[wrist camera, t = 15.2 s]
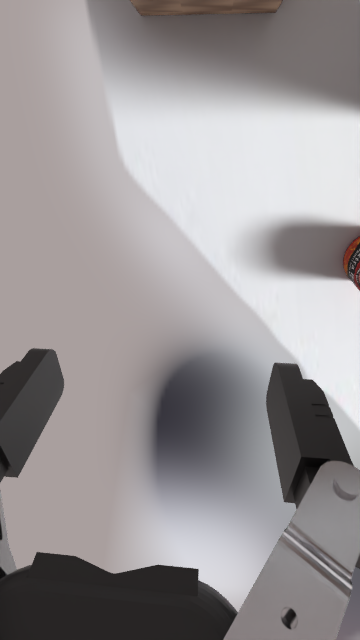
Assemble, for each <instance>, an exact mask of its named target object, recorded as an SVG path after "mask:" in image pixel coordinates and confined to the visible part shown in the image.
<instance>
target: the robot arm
mask: <svg viewBox="0 0 360 640" xmlns="http://www.w3.org/2000/svg"><path fill="white" fill-rule="evenodd" d="M63 388H64V379H63V376H62V372H61V368H60V365H59V362H58V358H57V355H56V352H55V351H54V350H52V349H34V348H33V349H31V350H29V351H28V353H27V354H26V355H25V357H24V358H23V359H22V361H21V362H18V361H16V362H15V363H13V364H12V365H11V366H9V367H8V368H7V369H5V370H4V371H3V372H2V373H1V374H0V482H1V480H2V479H3V477H4V476H6V477H18V476H19V474H20V472H21V470H22V468H23V467H24V465H25V463H26V461H27V459H28V457H29V455H30V453H31V452H32V450H33V448H34V446H35V444H36V442H37V440H38V438H39V437H40V435H41V433H42V431H43V429H44V427H45V425H46V423H47V422H48V420H49V418H50V416H51V414H52V412H53V410H54V408H55V407H56V405H57V403H58V401H59V399H60V397H61V395H62V392H63ZM266 399H267V400H266V402H267V403H266V405H267V413H268V418H269V424H270V429H271V434H272V440H273V445H274V450H275V456H276V461H277V467H278V472H279V477H280V483H281V488H282V493H283V499H284V502H288V503H295V504H296V509H297V510H296V512H295V514H294V516H293V518H292V519H291V521H290V523H289V525H288V527H287V528H286V529H285V530H284V532H283V533H282V535H281V537H280V538H279V540H278V542H277V544H276V545H275V547H274V549H273V551H272V553H271V555H270V556H269V558H268V560H267V562H266V563H265V565H264V567H263V569H262V571H261V572H260V574H259V576H258V578H257V580H256V582H255V583H254V585H253V587H252V589H251V591H250V592H249V594H248V596H247V598H246V600H245V601H244V604H243V605H242V607H241V609H240V610H239V612H237V611H236V610H235V608H234V607H233V606H232V605H231V604H230V603H229V602H228V601H227V599H225V598H224V597H223V596H222V595H221V594H220V593H219V592H217V591H216V590H215V589H213V588H212V587H210V586H209V585H207V584H205V583H203V582H201V581H199V580H198V569H193V568H183V567H173V566H164V565H155V566H150V567H145V568H141V569H136V570H132V571H127V572H122V573H117V574H113V573H109V572H107V571H105V570H103V569H101V568H99V567H97V566H95V565H93V564H91V563H89V562H86V561H84V560H82V559H80V558H78V557H76V556H68V555H59V554H50V553H40V552H37V553H36V556H35V558H34V561H33V564H32V565H29V566H26V567H24V568H21V569H18V570H17V569H16V565H15V562H14V559H13V556H12V554H11V551H10V548H9V544H8V538H7V531H6V524H5V518H4V512H3V504H2V497H1V491H0V640H336V637H337V634H338V631H339V628H340V625H341V622H342V619H343V616H344V614H345V611H346V607H347V605H348V601H349V599H350V595H351V591H352V582H351V578H352V574H353V570H354V568H355V567H357V568H359V569H360V470H359V469H357V468H356V467H354V465H353V463H352V461H351V459H350V456H349V454H348V451H347V449H346V447H345V444H344V441H343V439H342V437H341V434H340V432H339V429H338V427H337V424H336V422H335V419H334V418H333V414H332V412H331V409H330V407H329V404H328V402H327V399H326V397H325V394H324V392H323V391H322V389H321V388H320V387H319V386H318V385H317V384H316V383H315V382H314V381H313V380H307V379H303V378H302V375H301V372H300V369H299V367H298V365H297V364H289V363H274V365H273V369H272V373H271V377H270V382H269V386H268V391H267V397H266Z"/></svg>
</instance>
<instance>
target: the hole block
mask: <svg viewBox="0 0 360 640" xmlns="http://www.w3.org/2000/svg"><path fill="white" fill-rule="evenodd" d="M130 1H131V2H132V4H133V5H134V7H135V8H136V9H137V11H138V12H139V13H140V15H141V16H146V15H191V14H236V13H275V12H276V11H277V9H278V8H279V6H280V5H281V3H282V1H283V0H130Z"/></svg>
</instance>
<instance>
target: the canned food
mask: <svg viewBox="0 0 360 640" xmlns="http://www.w3.org/2000/svg"><path fill="white" fill-rule="evenodd" d="M343 262H344V270H345V272H346V274H347V276H348V277H349V278H350V279H351V281H352V282H353V283H354V284H355V286H356V287H357V288H358V289H359V290H360V237H358V238H357V239H356V240H354V241H353V242H352V243H351V244H350V246H349V247H348V249H347V250H346V252H345V255H344V260H343Z"/></svg>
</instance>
